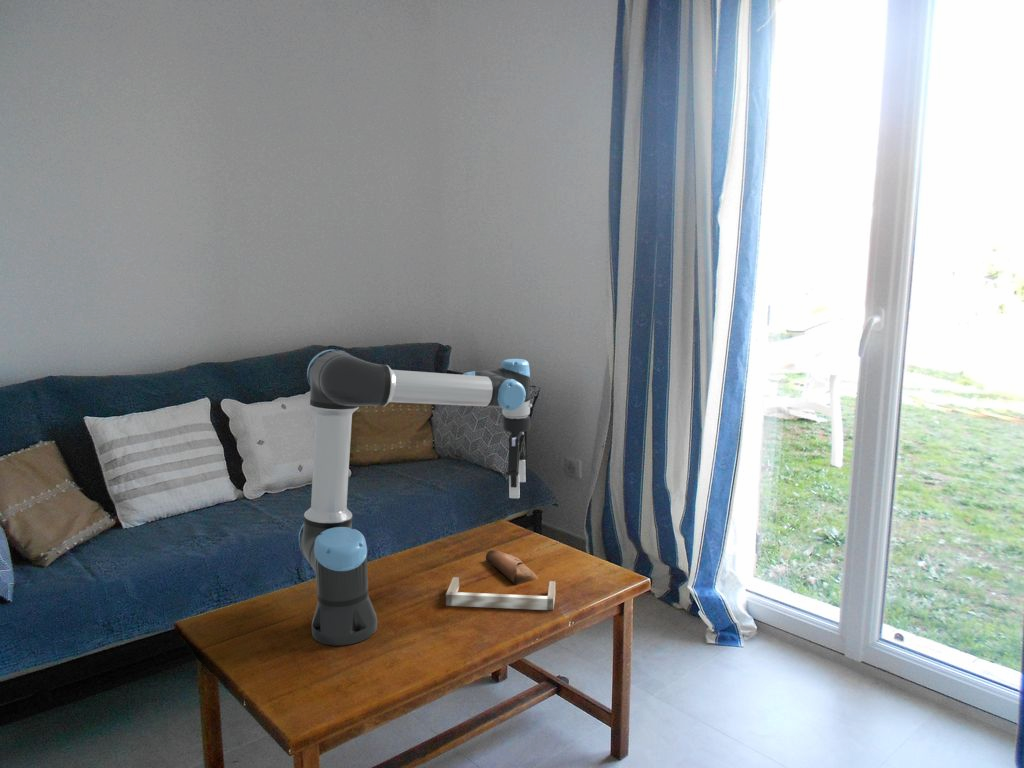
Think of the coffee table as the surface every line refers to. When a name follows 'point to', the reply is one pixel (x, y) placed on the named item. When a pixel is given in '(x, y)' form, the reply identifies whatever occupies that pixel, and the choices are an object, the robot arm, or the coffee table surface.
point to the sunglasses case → (511, 567)
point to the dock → (499, 599)
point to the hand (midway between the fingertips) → (517, 489)
